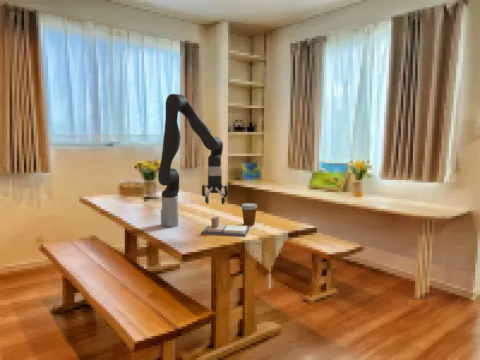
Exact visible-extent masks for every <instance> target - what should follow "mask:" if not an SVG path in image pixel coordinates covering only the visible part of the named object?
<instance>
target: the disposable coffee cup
mask: <svg viewBox="0 0 480 360" xmlns="http://www.w3.org/2000/svg"><path fill="white" fill-rule="evenodd" d="M257 208H258V205H257V203H253V202H245V203H242V204H241V210H242V211H241V212H242V220H243V226H247V227H248V226H249V227H250V226H252V227H253V226H254V225H255V223H256V215H257Z"/></svg>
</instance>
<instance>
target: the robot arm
mask: <svg viewBox="0 0 480 360" xmlns="http://www.w3.org/2000/svg"><path fill="white" fill-rule="evenodd" d="M179 112H180V114H182V115H183V116H184V117H185V118H186V120H187V121H188V123H189V126H190V127H191V129H192V131H193V132H194V133H195V134H196V135H197V136H198V137H199V139H200V140H201V143H202V144H203V146H204V147H205V148H206V149H207V150H209V151H210V155H208V158H207V184H202V186H201V196H202V197H204V198H205V200H204V201H205V203H206V205H209V203H210V200H209V195H210V194H219V195H220V196H221V205H224V204H226V203H225V202H226V197H228V196H229V188H228V185H227V184H226V185H223V180H222V179H223V178H222V177H223V176H222V175H223V172H222V171H223V170H222V159H221V158H222V154H223V149H224V143H223V141H222V139H221V138H220V137H217V136H214V135H212V133H211V129H210V127H208V126H207V124H206V123H204V121H203V120H202V119H201V118H200V117H199V115H198V114H197V113H196V111H195V110H194V108H193V107H192V105H191V104H190V102H189V101H188V99H187V98H186V97H185V96H184V95H182V94H179V93H178V94H177V93H169V95H168V96H167V98H166V99H165V122H164V132H163V141H162V149H161V150H162V151H161V160H160V164H159V169H158V174H157V180H158V182H159V184H160V185H161V186H166V187H165V189H164V190H162V191H161V209H160V226H161V227H165V228H174V227H177V226H179V192H180V173H179V171H178V170H177V169H176V168H171V167H172V163H173V161H174V158H175V157H176V154H178V151H179V149H180V146H181V145H180V144H181V137H182V136H181V131H180V127H179V125H178V124H179V123H178V117H179ZM206 189H207V192H206ZM222 189H223V190H224V192H223V190H222Z"/></svg>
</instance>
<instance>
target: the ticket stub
mask: <svg viewBox="0 0 480 360" xmlns="http://www.w3.org/2000/svg"><path fill="white" fill-rule="evenodd" d="M210 220H211V224H210V225H209V226H210V227H209V228H208V232H223V229H224V228H225V227H226V226H227V224H221V223H220V216H213V217H211V219H210Z"/></svg>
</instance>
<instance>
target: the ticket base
mask: <svg viewBox="0 0 480 360" xmlns="http://www.w3.org/2000/svg"><path fill="white" fill-rule="evenodd" d="M210 226H211V225H208V226H206V227H205V228H204V229H203V230H202V231H201V232H200V233H201V235H212V236H213V235H214V236H217V235H218V236H229V237H230V236H231V237H232V236H233V237H246V236H247V235H248V233H249V231H250V228H249V227H248V226H247V225H237V224H236V225H235V224H228V225H226V227H225V228H224V229H223V232H208V228H209V227H210Z"/></svg>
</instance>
